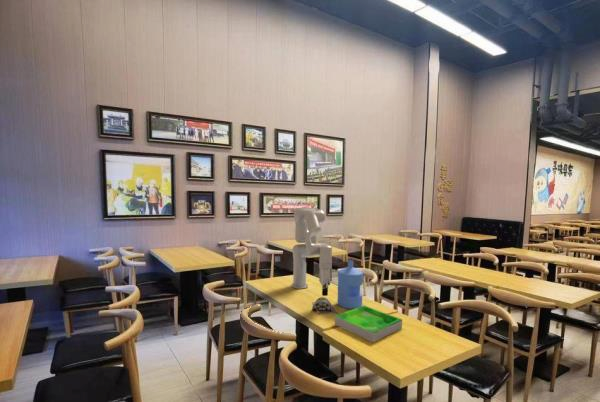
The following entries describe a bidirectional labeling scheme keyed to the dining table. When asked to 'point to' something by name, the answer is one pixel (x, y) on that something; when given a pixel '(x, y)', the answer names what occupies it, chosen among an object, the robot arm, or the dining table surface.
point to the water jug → (349, 287)
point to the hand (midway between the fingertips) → (324, 295)
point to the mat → (327, 311)
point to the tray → (368, 323)
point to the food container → (322, 305)
